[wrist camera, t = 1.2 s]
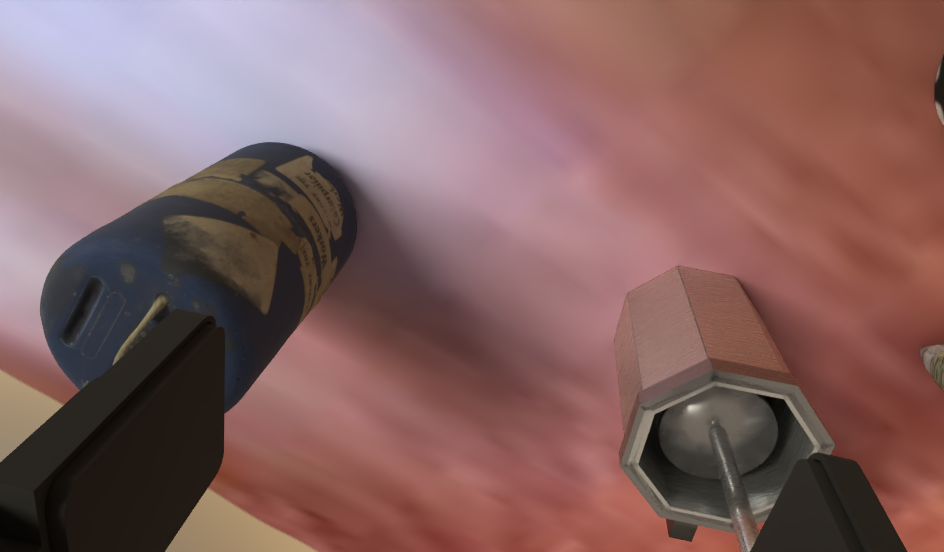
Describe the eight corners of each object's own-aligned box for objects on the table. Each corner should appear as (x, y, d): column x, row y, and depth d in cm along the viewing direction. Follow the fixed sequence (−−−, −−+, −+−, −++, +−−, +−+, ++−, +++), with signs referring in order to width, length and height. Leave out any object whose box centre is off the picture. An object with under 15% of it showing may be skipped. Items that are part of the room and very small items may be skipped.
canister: (394, 226, 43) (284, 390, 26) (292, 303, 46) (140, 490, 30) (288, 103, 40) (96, 202, 24) (189, 194, 44) (-37, 334, 27)
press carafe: (633, 252, 41) (654, 357, 30) (783, 281, 41) (858, 398, 30) (591, 402, 46) (597, 538, 35) (724, 429, 46) (770, 576, 35)
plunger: (674, 367, 33) (748, 670, 19) (790, 390, 33) (951, 716, 19) (645, 455, 36) (691, 781, 22) (752, 477, 35) (870, 823, 21)
